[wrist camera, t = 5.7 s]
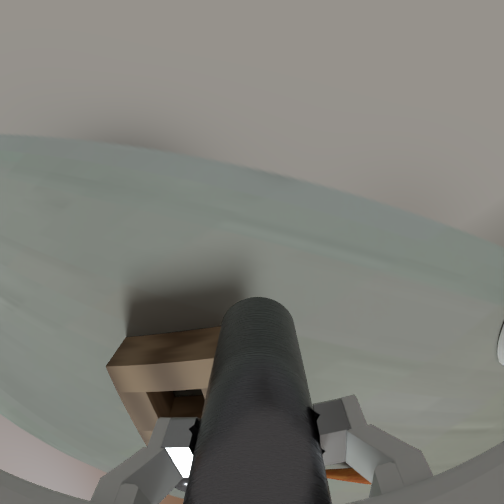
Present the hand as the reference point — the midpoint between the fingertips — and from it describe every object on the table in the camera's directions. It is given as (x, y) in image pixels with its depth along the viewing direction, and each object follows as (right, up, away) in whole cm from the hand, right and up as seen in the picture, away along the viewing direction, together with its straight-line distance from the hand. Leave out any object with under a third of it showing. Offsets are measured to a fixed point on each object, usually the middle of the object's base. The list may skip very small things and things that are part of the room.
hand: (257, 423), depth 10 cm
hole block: (-7, -8, +23) cm, 25 cm away
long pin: (0, +2, +7) cm, 7 cm away
